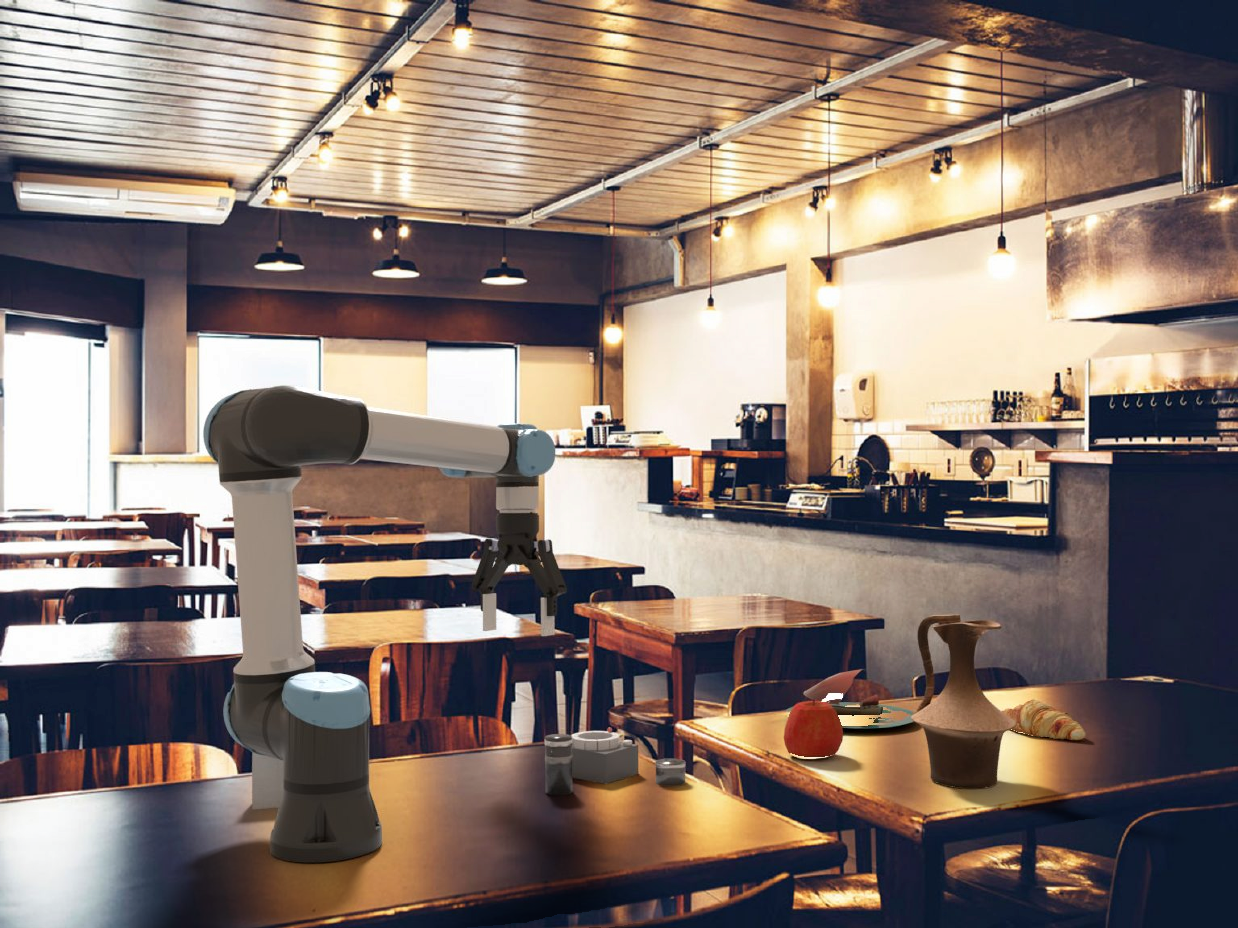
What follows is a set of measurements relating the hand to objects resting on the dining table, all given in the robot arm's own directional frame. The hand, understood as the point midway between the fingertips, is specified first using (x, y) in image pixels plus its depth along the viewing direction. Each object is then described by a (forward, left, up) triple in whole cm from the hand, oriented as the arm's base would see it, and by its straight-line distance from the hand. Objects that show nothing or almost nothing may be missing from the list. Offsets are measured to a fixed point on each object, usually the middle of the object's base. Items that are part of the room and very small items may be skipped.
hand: (518, 632), depth 205 cm
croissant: (+87, -61, -25) cm, 109 cm away
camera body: (+8, -11, -25) cm, 28 cm away
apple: (+42, -35, -25) cm, 60 cm away
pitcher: (+41, -64, -25) cm, 80 cm away
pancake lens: (+11, -25, -25) cm, 37 cm away
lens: (-5, -14, -25) cm, 29 cm away
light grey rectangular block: (-38, +17, -25) cm, 49 cm away
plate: (+76, -25, -25) cm, 84 cm away
